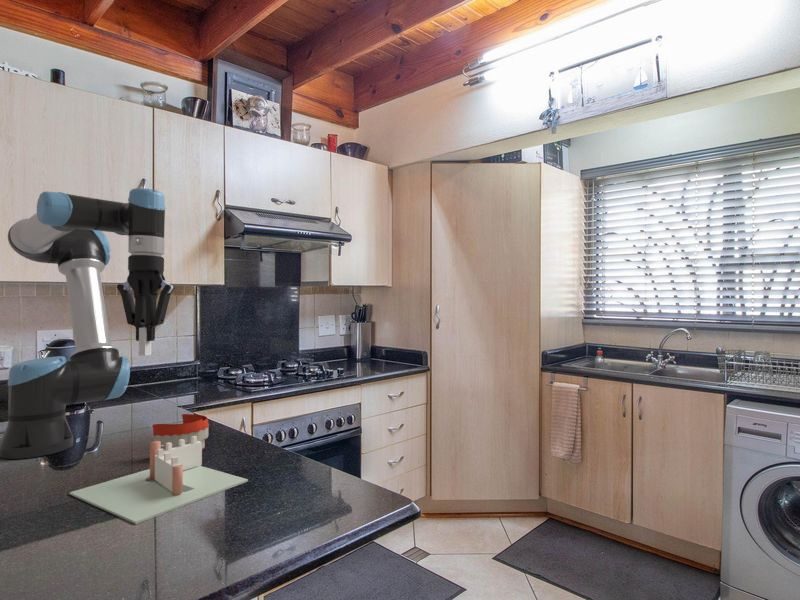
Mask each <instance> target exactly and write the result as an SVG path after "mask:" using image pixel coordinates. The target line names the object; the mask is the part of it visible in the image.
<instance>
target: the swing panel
mask: <svg viewBox="0 0 800 600" xmlns="http://www.w3.org/2000/svg"><path fill="white" fill-rule="evenodd" d="M155 480H156V481H157V482H159V483H160V484H161V485H163V486H164V487H166V488H167V489H169V490H170V491H171V492H172V494H180V493H182V492H183V465H179V464H178V457H177V456H175V457H171V453H170V452H168V453H164V449H158V450H157V455H155Z"/></svg>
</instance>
